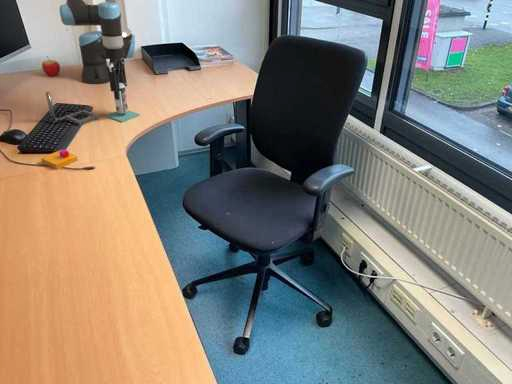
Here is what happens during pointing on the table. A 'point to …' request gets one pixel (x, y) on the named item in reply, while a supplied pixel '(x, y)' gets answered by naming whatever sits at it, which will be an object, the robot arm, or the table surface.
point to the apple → (51, 67)
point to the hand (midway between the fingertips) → (121, 104)
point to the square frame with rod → (51, 109)
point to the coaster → (122, 116)
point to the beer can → (124, 101)
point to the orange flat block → (59, 159)
